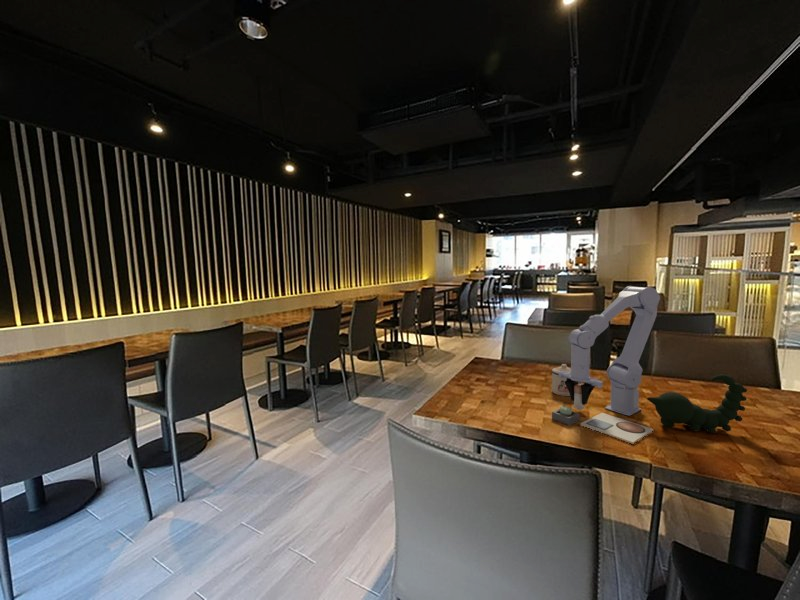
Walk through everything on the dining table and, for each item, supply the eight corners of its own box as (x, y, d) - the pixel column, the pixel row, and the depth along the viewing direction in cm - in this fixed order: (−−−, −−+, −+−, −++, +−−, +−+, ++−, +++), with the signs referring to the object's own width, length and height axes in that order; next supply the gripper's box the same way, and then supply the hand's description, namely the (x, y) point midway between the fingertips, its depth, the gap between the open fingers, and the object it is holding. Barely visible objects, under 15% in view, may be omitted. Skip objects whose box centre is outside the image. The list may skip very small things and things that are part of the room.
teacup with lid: (557, 396, 135) (558, 367, 134) (547, 389, 144) (547, 361, 143) (587, 396, 135) (588, 367, 134) (575, 388, 144) (576, 361, 143)
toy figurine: (723, 430, 109) (636, 416, 114) (734, 372, 107) (644, 361, 112) (746, 444, 100) (650, 429, 105) (758, 382, 98) (659, 370, 103)
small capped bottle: (576, 405, 122) (577, 383, 122) (586, 408, 120) (587, 386, 119) (571, 407, 121) (572, 385, 120) (581, 410, 118) (581, 387, 117)
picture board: (602, 414, 117) (602, 412, 117) (653, 431, 105) (653, 428, 105) (580, 425, 110) (580, 422, 110) (632, 445, 97) (632, 441, 97)
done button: (563, 411, 116) (563, 405, 116) (573, 414, 113) (574, 409, 113) (557, 413, 114) (557, 408, 114) (567, 417, 111) (568, 411, 111)
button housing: (561, 414, 118) (562, 407, 118) (579, 421, 113) (579, 413, 113) (551, 419, 115) (552, 412, 114) (569, 425, 110) (569, 418, 109)
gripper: (554, 361, 123) (553, 398, 124) (595, 371, 111) (594, 411, 112) (565, 358, 126) (564, 394, 128) (606, 367, 114) (605, 406, 116)
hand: (579, 402), depth 120 cm, fingers closed on small capped bottle, 3 cm apart
